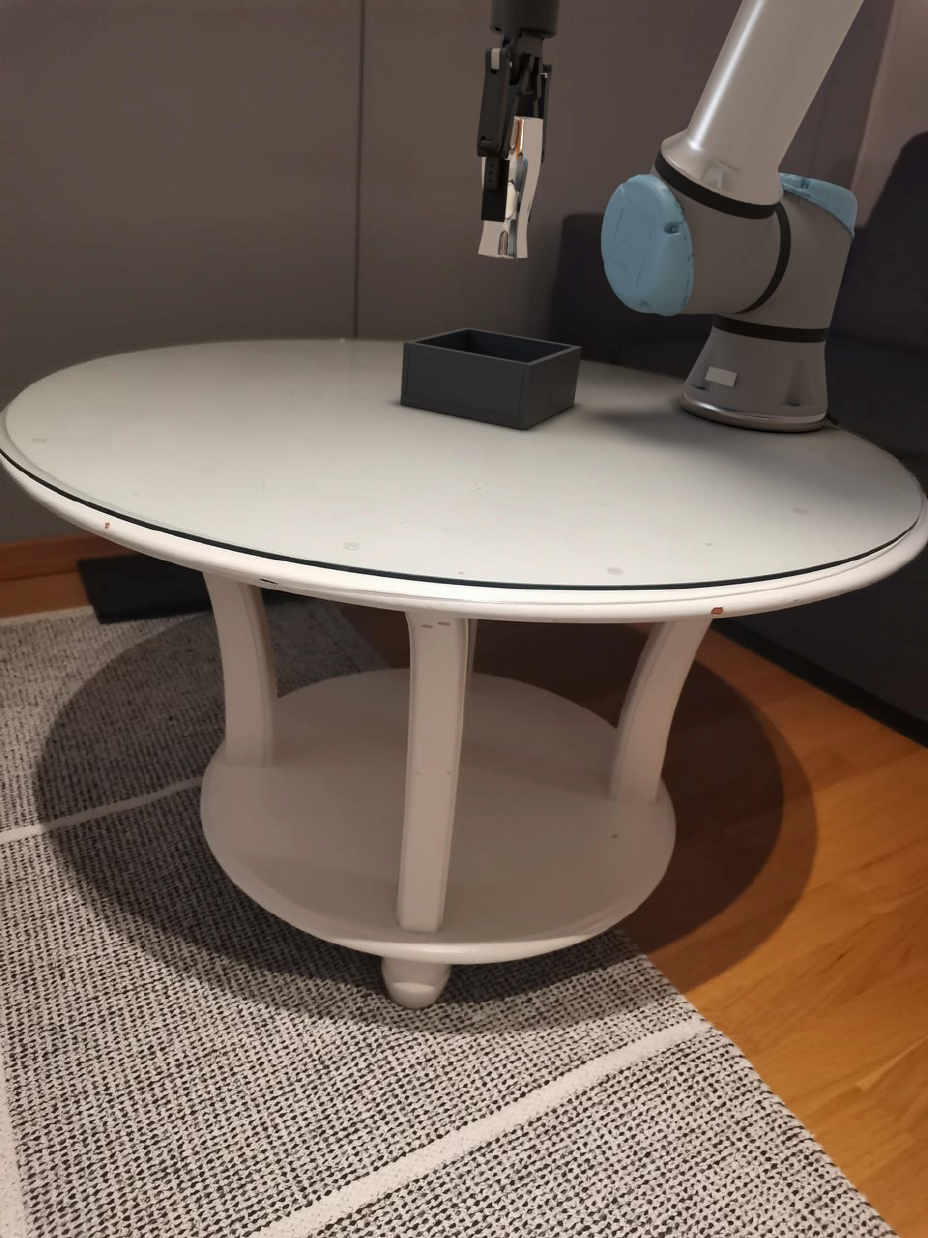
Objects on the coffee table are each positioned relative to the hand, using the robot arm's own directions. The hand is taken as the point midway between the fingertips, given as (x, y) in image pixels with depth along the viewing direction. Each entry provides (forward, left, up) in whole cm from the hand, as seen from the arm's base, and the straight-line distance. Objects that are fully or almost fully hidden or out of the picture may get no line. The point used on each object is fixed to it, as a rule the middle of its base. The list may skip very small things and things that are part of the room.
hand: (505, 220), depth 112 cm
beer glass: (0, 0, -4) cm, 4 cm away
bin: (-11, +24, -16) cm, 31 cm away
